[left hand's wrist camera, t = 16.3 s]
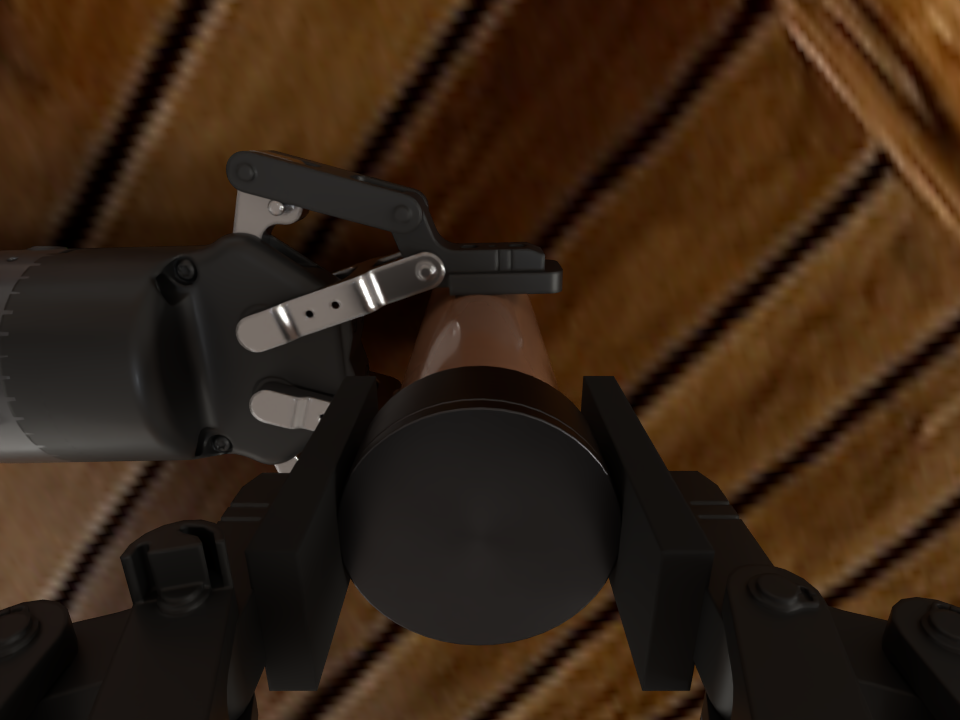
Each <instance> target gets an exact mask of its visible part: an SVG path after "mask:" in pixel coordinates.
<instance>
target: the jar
mask: <svg viewBox="0 0 960 720" xmlns="http://www.w3.org/2000/svg"><path fill="white" fill-rule="evenodd" d="M464 366H493V367H502V368H507V369H511V370H516V371H519V372H522V373H525V374H528V375H531V376H533V377H535V378H537V379H539V380H542V381H544V382H546V383H548V384H549V385H551V386H552V387H554V388H555V389H557V390H558V391H559V388H558V385H557V382H556V379H555V376H554V373H553V370H552V367H551V364H550V361H549V358H548V355H547V351H546V348H545V345H544V342H543V339H542V336H541V333H540V330H539V327H538V324H537V321H536V318H535V315H534V311H533V308H532V305H531V302H530V299H529V296H528V294H502V295H460V296H450V292H449V287H446V288H433V291H432V294H431V297H430V300H429V303H428V306H427V309H426V312H425V315H424V318H423V321H422V324H421V327H420V330H419V333H418V337H417V340H416V343H415V346H414V349H413V352H412V355H411V358H410V361H409V364H408V367H407V370H406V373H405V376H404V379H403V382H402V386H401V389H400V391H401V390H402V389H403V388H405V387H407V386H408V385H410V384H412V383H413V382H415V381H417V380H419V379H421V378H424V377H426V376H428V375H430V374H433V373H437V372H440V371H443V370H447V369H452V368H458V367H464Z"/></svg>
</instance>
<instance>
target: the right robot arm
mask: <svg viewBox="0 0 960 720" xmlns="http://www.w3.org/2000/svg"><path fill="white" fill-rule="evenodd" d="M226 173H227V177H228V179H229V181H230V183H231V184H232V185H233V186H234V187H235V188H236V189H237V190H238V192H237V201H236V210H235V219H234V228H233V233H231V234H227V235H225V236H223V237H221V238H219V239H218V240H216V241H215V242H213V243H212V244H210V245H202V246H163V247H121V248H78V249H67V248H66V247H59V246H33V247H31V248H28V249H26V250H3V251H0V463H50V462H103V461H150V460H191V459H199V458H205V457H210V456H215V455H221V454H230V453H232V454H238V455H243V456H246V457H249V458H251V459H254V460H256V461H258V462H260V463H264V464H271V465H275V467H276V469H277V471H278V473H290V472H291V470H292V468H293V467H294V465H295V463H296V461H297V460H298V458H299V456H300V454H301V453H302V451H303V449H304V448H305V446H306V444H307V442H308V441H309V439H310V437H311V435H312V434H313V432H314V430H315V429H316V427H317V425H318V423H319V422H320V420H321V418H322V416H323V415H324V413H325V411H326V409H327V408H328V406H329V404H330V403H331V401H332V399H333V397H334V396H335V394H336V392H337V390H338V389H339V387H340V385H341V384H342V382H343V380H344V378H345V377H346V376H376V383H377V398H378V412H379V410H380V409H381V408H382V407H383V406H384V405H385V404H386V403H387V402H388V401H389V400H390V399H391V398H392V397H393V396H394V395H396V394H397V393H398V392H399V391H400V389H401V386H402V384H401V383H400V381H399V380H397V379H395V378H393V377H390V376H386V375H383V374H379V373H375V372H371V371H369V363H368V358H367V356H366V353H365V351H364V348H363V345H362V343H361V336H362V330H363V324H364V315H367V314H369V313H372V312H374V311H376V310H378V309H379V308H381V307H382V306H384V305H387V304H389V303H392V302H395V301H398V300H401V299H404V298H407V297H410V296H413V295H416V294H419V293H422V292H425V291H428V290H431V289H433V288H446V287H449V292H450V296H460V295H502V294H544V293H557V292H560V291H562V274H563V269H562V268H561V266H560V265H559V263H558V262H557V261H554V260H545V254H544V253H543V251H542V249H541V248H540V247H538V246H535V245H533V244H530V243H527V242H510V243H508V242H504V243H464V244H456V243H451V242H448V241H447V240H445V239H444V238H442V237H441V236H440V234H439V233H438V231H437V229H436V227H435V225H434V222H433V220H432V217H431V215H430V213H429V210H428V208H429V207H428V201H427V199H426V197H425V195H424V194H423V193H422V192H420V191H419V190H416V189H413V188H410V187H406V186H402V185H399V184H395V183H391V182H388V181H384V180H380V179H377V178H373V177H369V176H366V175H362V174H358V173H355V172H351V171H347V170H344V169H340V168H336V167H333V166H329V165H325V164H322V163H318V162H314V161H311V160H307V159H303V158H300V157H296V156H292V155H289V154H285V153H281V152H278V151H264V150H258V151H240V152H237V153H235V154H233V155H232V156H231V157H230V158H229V160H228V162H227V165H226ZM309 210H311V211H315V212H319V213H323V214H326V215H330V216H334V217H338V218H341V219H345V220H349V221H353V222H357V223H360V224H364V225H368V226H372V227H375V228H379V229H383V230H387V231H391V232H392V235H393V237H394V239H395V241H396V244H397V246H398V248H399V251H397V252H394V253H391V254H388V255H385V256H382V257H375V258H372V259H369V260H366V261H363V262H361V263H358V264H355V265H352V266H349V267H346V268H344V269H341V270H338V271H335V272H332V273H330V272H329V271H327V270H325V269H324V268H322V267H321V266H319V265H318V264H316V263H315V262H313V261H311V260H310V259H308V258H307V257H305V256H304V255H302V254H300V253H299V252H297V251H296V250H294V249H293V248H291V247H290V246H288V245H286V244H285V243H283V242H282V241H280V240H279V239H277V238H276V237H274V236H272V235H271V231H272V229H273V228H274V226H275V225H276V224H284V225H287V224H292V223H294V222H297V221H299V220H301V219H303V218H304V217H305V216H306V215H307V214H308V212H309Z"/></svg>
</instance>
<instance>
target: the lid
mask: <svg viewBox="0 0 960 720" xmlns="http://www.w3.org/2000/svg"><path fill="white" fill-rule="evenodd" d="M337 522H338V532H339V541H340V551H341V558H342V561H343V564H344V566H345V568H346V570H347V572H348V574H349V576H350V578H351V580H352V581H353V583H354V584H355V586H356V587H357V589H358V590H359V592H360V593H361V594H362V595H363V596H364V597H365V598H366V599H367V600H368V602H369V603H370V604H371V605H373V606H374V607H375V608H376V609H377V610H378V611H380V612H381V613H382V614H383V615H385V616H386V617H388V618H389V619H391V620H392V621H394V622H395V623H397V624H399V625H401V626H403V627H404V628H406V629H408V630H410V631H413V632H415V633H418V634H420V635H423V636H425V637H429V638H432V639H436V640H440V641H444V642H450V643H456V644H465V645H495V644H503V643H510V642H515V641H519V640H523V639H527V638H530V637H533V636H536V635H539V634H541V633H544V632H546V631H548V630H550V629H552V628H555V627H557V626H559V625H560V624H562V623H563V622H565V621H567V620H568V619H570V618H571V617H573V616H574V615H575V614H577V613H578V612H579V611H580V610H582V609H583V608H584V607H585V606H586V605H587V604H588V603H589V602H590V601H591V600H592V599H593V598H594V597H595V596H596V595H597V594H598V592H599V591H600V590H601V588H602V587H603V586H604V584H605V583H606V581H607V579H608V577H609V576H610V574H611V572H612V570H613V568H614V565H615V563H616V560H617V557H618V553H619V545H620V536H621V526H622V510H621V505H620V501H619V498H618V494H617V491H616V488H615V486H614V483H613V481H612V478H611V476H610V473H609V470H608V468H607V465H606V463H605V460H604V458H603V455H602V453H601V450H600V448H599V445H598V443H597V440H596V438H595V436H594V433H593V431H592V429H591V427H590V425H589V424H588V422H587V420H586V419H585V417H584V416H583V414H582V413H581V412H580V411H579V410H578V408H577V407H576V406H575V405H574V404H573V403H572V402H571V401H570V400H569V399H568V398H567V397H566V396H564V395H563V394H562V393H561V392H560V391H558V390H557V389H555V388H554V387H552V386H551V385H549V384H548V383H546V382H544V381H542V380H539V379H537V378H535V377H533V376H531V375H528V374H525V373H522V372H519V371H516V370H511V369H507V368H502V367H493V366H464V367H458V368H452V369H447V370H443V371H440V372H437V373H433V374H430V375H428V376H426V377H424V378H421V379H419V380H417V381H415V382H413V383H412V384H410V385H408V386H407V387H405V388H403V389H402V390H401V391H399V392H398V393H397V394H396V395H394V396H393V397H392V398H391V399H390V400H389V401H388V402H387V403H386V404H385V405H384V406H383V407H382V408H381V409H380V410H379V412H378V413H377V414H376V416H375V417H374V419H373V420H372V422H371V423H370V425H369V427H368V429H367V431H366V433H365V435H364V437H363V440H362V442H361V445H360V447H359V450H358V452H357V455H356V457H355V460H354V462H353V465H352V467H351V470H350V472H349V475H348V477H347V480H346V482H345V485H344V487H343V490H342V493H341V496H340V500H339V503H338V509H337Z"/></svg>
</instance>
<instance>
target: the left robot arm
mask: <svg viewBox="0 0 960 720" xmlns="http://www.w3.org/2000/svg"><path fill="white" fill-rule="evenodd" d="M377 413H378V398H377V383H376V376H346V377H345V378H344V380H343V382H342V384H341V385H340V387H339V389H338V390H337V392H336V394H335V396H334V397H333V399H332V401H331V403H330V404H329V406H328V408H327V409H326V411H325V413H324V415H323V416H322V418H321V420H320V422H319V423H318V425H317V427H316V429H315V430H314V432H313V434H312V435H311V437H310V439H309V441H308V442H307V444H306V446H305V448H304V449H303V451H302V453H301V454H300V456H299V458H298V460H297V461H296V463H295V465H294V467H293V468H292V470H291V472H290V473H261V474H260V475H259V476H257V477H256V478H254V479H253V480H252V481H250V482H249V483H247V484H246V485H245V486H243V487H242V488H241V490H240V491H239V493H238V494H237V495H236V497H235V498H234V500H233V501H232V503H231V506H230V507H228V508H227V510H226V511H225V513H224V514H223V516H222V517H221V521H218V523H217V524H215V523H212V522H208V521H204V520H183V521H179V522H175V523H171V524H167V525H163V526H161V527H159V528H157V529H154V530H152V531H150V532H148V533H146V534H144V535H143V536H141V537H140V538H138V539H137V540H136V541H134V542H133V543H132V544H130V545H129V546H128V548H127V549H126V550H125V552H124V553H123V554H122V555H121V557H120V559H121V562H122V566H123V569H124V573H125V577H126V580H127V584H128V588H129V591H130V595H131V598H132V602H133V606H132V608H131V609H128V610H124V611H121V612H118V613H114V614H109V615H105V616H101V617H96V618H92V619H88V620H83V621H79V622H75V623H72V621H71V618H70V615H69V612H68V609H67V608H65V607H64V606H63V605H62V604H61V603H60V602H56V601H50V600H37V601H30V602H23V603H20V604H17V605H14V606H11V607H8V608H6V609H3V610H0V720H258V710H257V702H256V697H255V692H254V691H255V689H256V686H257V684H258V681H259V679H260V677H261V674H262V672H263V669H264V667H265V669H266V674H267V680H268V685H269V691H317V689H318V685H319V682H320V679H321V675H322V672H323V669H324V665H325V662H326V659H327V655H328V652H329V649H330V645H331V642H332V638H333V635H334V632H335V628H336V625H337V622H338V618H339V615H340V612H341V608H342V605H343V602H344V598H345V595H346V591H347V588H348V585H349V581H350V576H349V574H348V572H347V570H346V568H345V566H344V564H343V561H342V558H341V551H340V541H339V532H338V522H337V509H338V503H339V500H340V496H341V493H342V490H343V487H344V485H345V482H346V480H347V477H348V475H349V472H350V470H351V467H352V465H353V462H354V460H355V457H356V455H357V452H358V450H359V447H360V445H361V442H362V440H363V437H364V435H365V433H366V431H367V429H368V427H369V425H370V423H371V422H372V420H373V419H374V417H375V416H376V414H377ZM581 413H582V414H583V416H584V417H585V419H586V420H587V422H588V424H589V425H590V427H591V429H592V431H593V433H594V436H595V438H596V440H597V443H598V445H599V448H600V450H601V453H602V455H603V458H604V460H605V463H606V465H607V468H608V470H609V473H610V476H611V478H612V481H613V483H614V486H615V488H616V491H617V494H618V498H619V501H620V505H621V510H622V526H621V536H620V545H619V553H618V557H617V560H616V563H615V565H614V568H613V570H612V572H611V574H610V576H609V580H610V583H611V587H612V590H613V593H614V597H615V600H616V603H617V607H618V610H619V613H620V617H621V620H622V624H623V627H624V630H625V634H626V637H627V640H628V644H629V647H630V650H631V654H632V657H633V660H634V664H635V667H636V671H637V674H638V677H639V681H640V684H641V687H642V691H690V687H691V682H692V676H693V671H694V665H696V668H697V670H698V673H699V675H700V677H701V680H702V682H703V685H704V687H705V690H706V692H705V697H704V702H703V707H702V713H701V718H700V720H960V608H959V607H956V606H954V605H950V604H948V603H945V602H942V601H939V600H934V599H927V598H920V597H914V598H907V599H901V600H900V601H899V602H897V603H896V604H895V605H894V606H893V607H892V610H891V613H890V616H889V619H888V621H887V620H883V619H878V618H874V617H870V616H865V615H861V614H857V613H852V612H848V611H843V610H840V609H837V608H833V607H830V606H828V605H827V603H826V602H825V600H824V599H823V597H822V596H821V594H820V593H819V591H818V590H817V589H815V588H814V587H813V586H812V585H811V584H809V583H808V582H807V581H806V580H804V579H803V578H801V577H799V576H797V575H795V574H793V573H791V572H789V571H787V570H785V569H782V568H778V567H774V566H773V564H772V563H771V561H770V560H769V558H768V557H767V556H766V554H765V553H764V551H763V550H762V548H761V547H760V546H759V544H758V543H757V541H756V540H755V538H754V537H753V535H752V534H751V533H750V531H749V530H748V528H747V527H746V525H745V524H744V523H743V521H742V520H741V519H739V515H738V514H737V513H736V511H735V510H734V508H733V507H732V505H729V501H728V500H727V498H726V497H725V495H724V494H723V493H722V491H721V490H720V488H719V487H718V485H716V484H715V483H714V482H712V481H711V480H709V479H708V478H706V477H705V476H704V475H702V474H701V473H699V472H698V471H668V469H667V468H666V466H665V464H664V462H663V461H662V459H661V457H660V455H659V454H658V452H657V450H656V449H655V447H654V445H653V443H652V442H651V440H650V438H649V436H648V435H647V433H646V431H645V429H644V428H643V426H642V424H641V423H640V421H639V419H638V417H637V416H636V414H635V412H634V410H633V409H632V407H631V405H630V404H629V402H628V400H627V398H626V397H625V395H624V393H623V391H622V390H621V388H620V386H619V385H618V383H617V381H616V379H615V378H614V376H583V390H582V404H581Z"/></svg>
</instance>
